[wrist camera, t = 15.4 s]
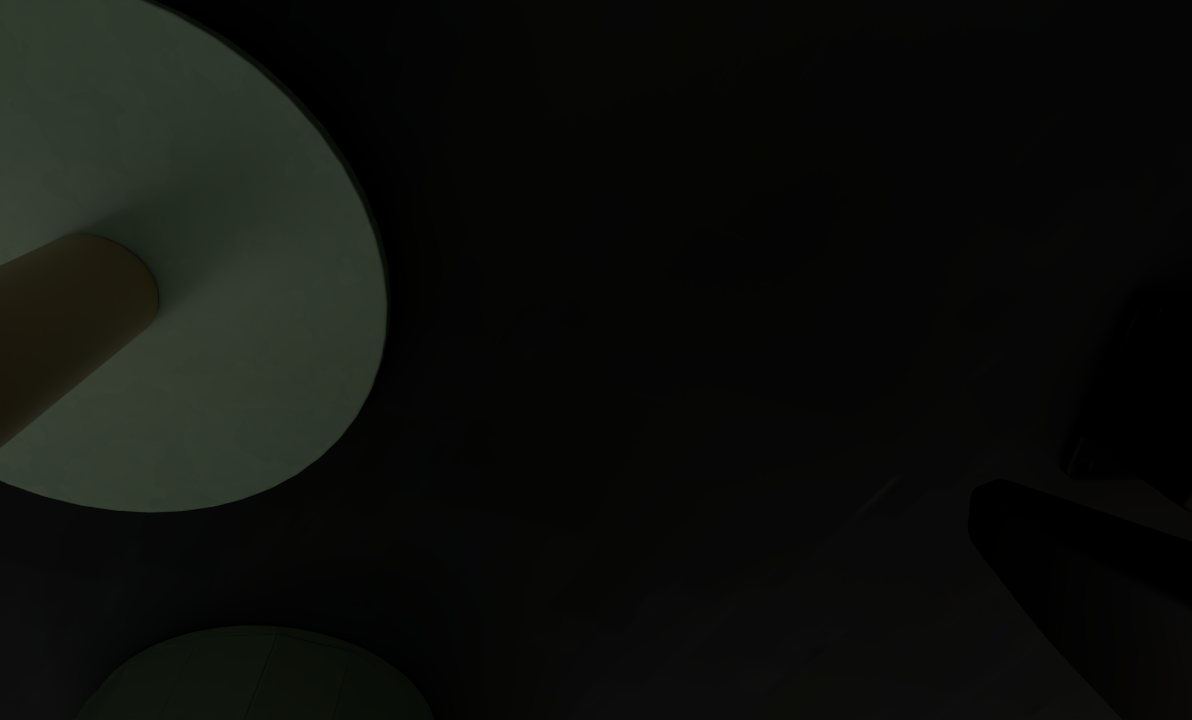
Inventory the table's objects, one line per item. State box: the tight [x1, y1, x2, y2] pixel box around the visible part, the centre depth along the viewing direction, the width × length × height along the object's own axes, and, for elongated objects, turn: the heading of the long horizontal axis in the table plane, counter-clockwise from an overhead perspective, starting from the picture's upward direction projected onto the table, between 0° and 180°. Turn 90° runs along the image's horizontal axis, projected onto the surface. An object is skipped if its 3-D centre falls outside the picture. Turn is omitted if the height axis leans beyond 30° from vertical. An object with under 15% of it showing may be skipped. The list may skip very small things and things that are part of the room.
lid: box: [0, 0, 391, 512], centre depth 13 cm, size 13×13×8 cm
